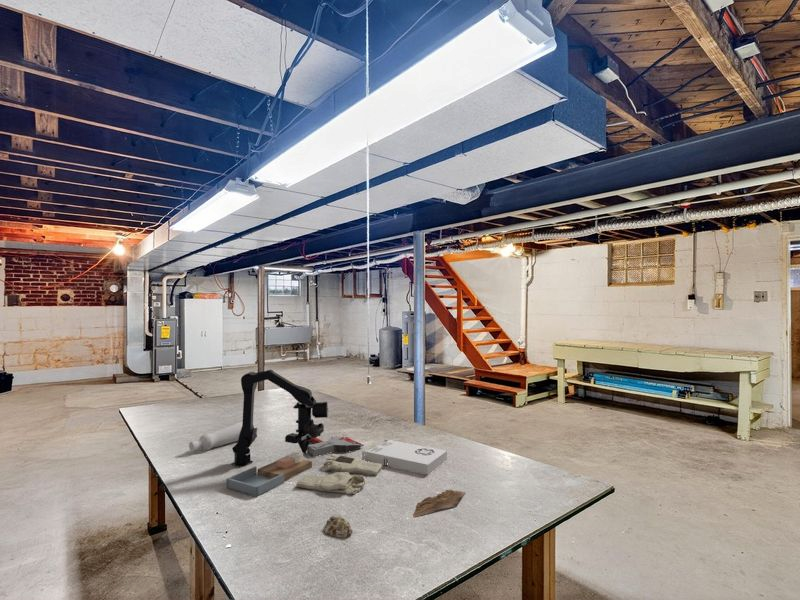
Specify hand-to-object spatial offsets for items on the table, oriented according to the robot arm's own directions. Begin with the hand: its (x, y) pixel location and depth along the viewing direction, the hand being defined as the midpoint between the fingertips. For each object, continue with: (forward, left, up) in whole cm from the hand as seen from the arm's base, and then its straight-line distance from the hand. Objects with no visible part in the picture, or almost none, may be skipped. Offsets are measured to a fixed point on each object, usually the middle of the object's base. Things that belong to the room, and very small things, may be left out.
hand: (304, 453), depth 180 cm
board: (0, -12, -4) cm, 12 cm away
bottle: (-53, -2, -4) cm, 53 cm away
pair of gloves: (+25, -6, -4) cm, 26 cm away
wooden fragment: (+68, -8, -4) cm, 69 cm away
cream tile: (0, -6, -1) cm, 6 cm away
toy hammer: (-5, +22, -4) cm, 23 cm away
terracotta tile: (0, -12, -1) cm, 12 cm away
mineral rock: (+48, -38, -4) cm, 61 cm away
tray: (0, -27, -4) cm, 28 cm away
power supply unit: (+39, +22, -5) cm, 45 cm away
